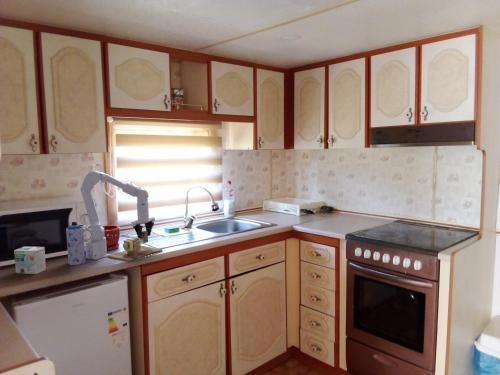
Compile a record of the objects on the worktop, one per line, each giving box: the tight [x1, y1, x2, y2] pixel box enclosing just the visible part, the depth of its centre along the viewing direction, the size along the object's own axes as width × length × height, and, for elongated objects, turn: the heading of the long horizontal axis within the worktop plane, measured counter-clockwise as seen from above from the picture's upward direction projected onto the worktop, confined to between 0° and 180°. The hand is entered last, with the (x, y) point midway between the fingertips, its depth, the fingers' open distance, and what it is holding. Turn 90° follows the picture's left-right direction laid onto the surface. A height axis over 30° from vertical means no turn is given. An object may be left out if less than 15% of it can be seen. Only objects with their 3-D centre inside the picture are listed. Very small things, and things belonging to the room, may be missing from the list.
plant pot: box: [102, 224, 121, 251], centre depth 215 cm, size 13×13×12 cm
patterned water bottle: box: [65, 221, 87, 266], centre depth 191 cm, size 8×8×20 cm
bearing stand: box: [107, 236, 163, 263], centre depth 203 cm, size 22×16×8 cm
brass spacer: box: [123, 239, 133, 251], centre depth 200 cm, size 2×5×5 cm, turn 57°
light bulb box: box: [13, 246, 47, 275], centre depth 179 cm, size 11×7×11 cm, turn 81°
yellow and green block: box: [122, 230, 149, 249], centre depth 203 cm, size 14×3×6 cm, turn 147°
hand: (144, 236), depth 208 cm, fingers open, 5 cm apart
